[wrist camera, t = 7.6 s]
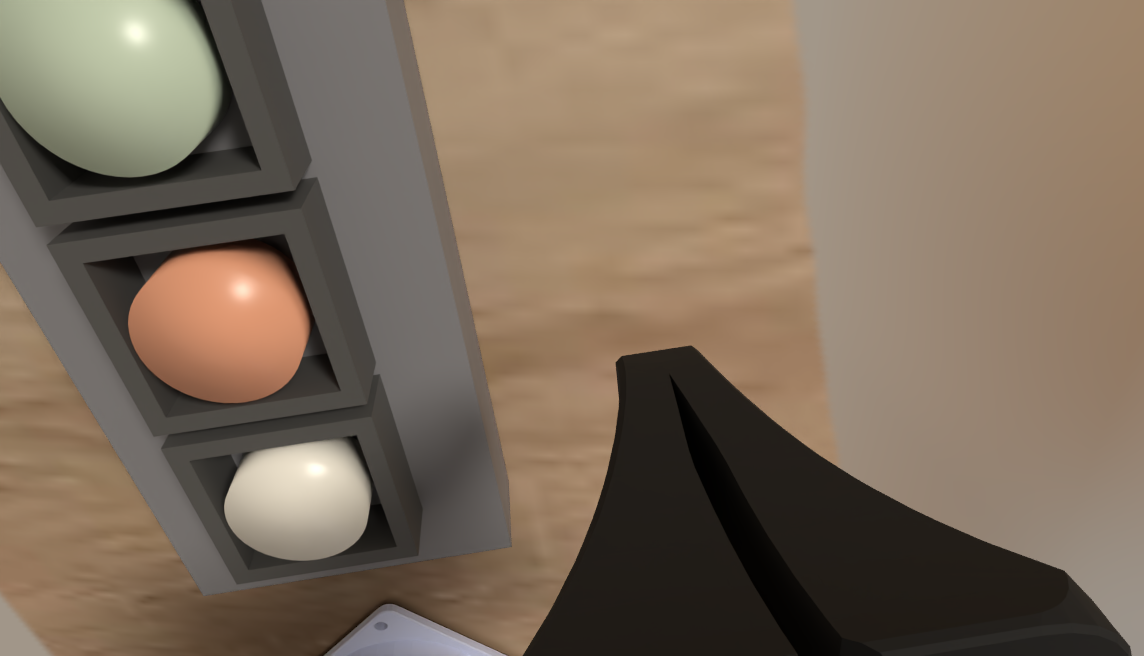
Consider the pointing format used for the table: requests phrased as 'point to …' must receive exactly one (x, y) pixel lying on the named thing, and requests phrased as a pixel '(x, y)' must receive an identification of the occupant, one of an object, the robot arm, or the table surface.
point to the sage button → (113, 80)
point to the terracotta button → (223, 321)
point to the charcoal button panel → (328, 273)
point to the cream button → (301, 499)
